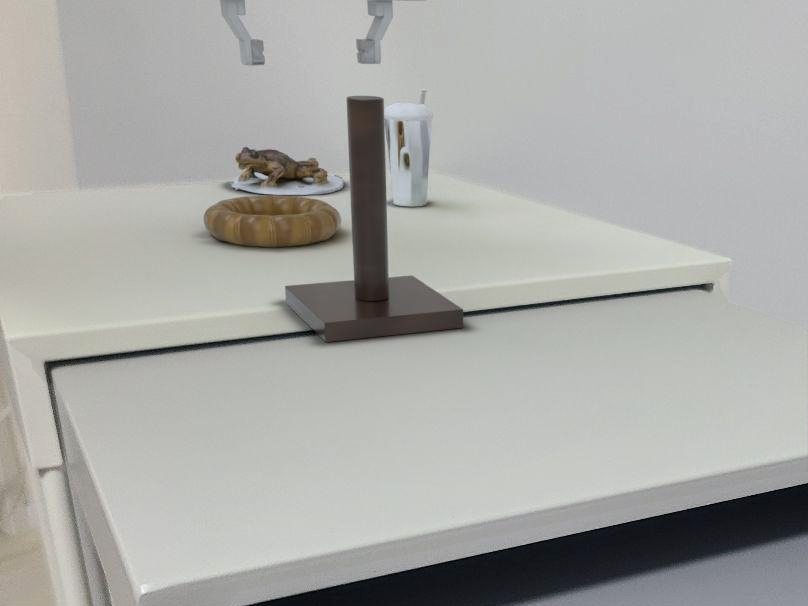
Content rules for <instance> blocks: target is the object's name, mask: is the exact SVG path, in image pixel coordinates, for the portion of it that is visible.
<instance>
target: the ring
mask: <svg viewBox="0 0 808 606" xmlns="http://www.w3.org/2000/svg"><path fill="white" fill-rule="evenodd" d="M203 224H204V226H205V228H206V230H207V231H208V232H209V233H210V234H211V235H212V236H213V237H214V238H216V239H217V240H219V241H221V242H226V243H231V244H235V245H240V246H244V247H265V248H280V247H281V248H282V247H297V246H306V245H310V244H314V243H319V242H323V241H327V240H328V239H330V238H331V237H332V236H334V235H335V234H336V233H337V232H338V230H339V229H340V228H341V224H342V216H341V214H340V212H339V211H338V209H336V207H334V206H332V205H331V204H329V203H327V202H326V201H324V200H321V199H317V198H311V197H305V196H300V195H274V194H264V195H246V196H240V197H239V196H238V197H233V198H227V199H223V200H220V201H218V202H216V203H214V204H213V205H211V206H209V207H208V208H207V209H206V210H205V211H204V215H203Z"/></svg>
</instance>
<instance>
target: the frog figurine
mask: <svg viewBox="0 0 808 606" xmlns="http://www.w3.org/2000/svg"><path fill="white" fill-rule="evenodd" d="M235 161H236V163H237V164H238V165H237V168H238V169H239V170H241V171H243V172H242V173H240V174H238V175H237V176H234V177H233V178H232V179H231V181H230V182H229V184H230V187H231V188H232V189H235V191H239V190H240V191H246V192H247V193H255V194H259V195H260V194H261V195H280V196H301V195H302V196H306V195H308V196H309V195H324V194H330V193H335V192H336V191H340V190H342V189H343V188H344V185H345V184H344V183H345V182H344V180H343V177H342V176H340V175H337V174H334V175H333V176H331V175H328V172H329V171H328V170H326V169H324V168H321V167H319V164H320V163H319V161H318V160H317V158H315V157H308V159H307V160H298V161H297V160H295V159H293V158H292V157H290V156H289V155H288V154H286V153H284V152H281V151H279V150H277V149H271V148H269V149H268V148H267V149H259V150H257V149H254V148H251V149H250V148H249V147H247V146H245V147H242V149H241V151H240V152H238V153H236V156H235Z"/></svg>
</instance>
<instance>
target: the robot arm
mask: <svg viewBox="0 0 808 606" xmlns="http://www.w3.org/2000/svg"><path fill="white" fill-rule="evenodd" d="M395 1H397V2H398V1H399V2H426V1H427V0H366V3H367V4H366V5H367V15H368V16H372V17H374V18H373V20H372V22H371V24H370V27H369V29H368V31H367V33H366V36H365V38H357V39H355V46H356V47H355V48H356V50H357V53H356V59H357V63H358V64H361V65H380V64H381V62H382V50H381V47H382V46H381V41H382V40H383V39H384V37H385V35H386V32H387V30H388V28H389V26H390V24H391V21H392V20H393V18H394V10H393V9H394V8H393V5H394V4H393V2H395ZM219 3H220V12H221V13H220V14H221V16H222V17H223V19H224V20H225V22H226V24H227V26H228V28H229V29H230V30H231V32H232V33H233V35H234V36H235V38H236V39H237V40H238V46H239V55H240V61H241V62H240V63H241V65H243V66H265V64H266V63H265V61H266V60H265V59H266V58H265V55H264V54H263V52H265V51H264V50H265V48H264V47H265V46H264V40H262V39H258V38H252V36H251V35H250V33H249V31H248V30H247V28H246V27H245V25H244V23H243V21H242V20H241V18H240V17H239V16H245V15H247V12H246V11H247V10H246V0H219Z"/></svg>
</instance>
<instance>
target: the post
mask: <svg viewBox="0 0 808 606" xmlns="http://www.w3.org/2000/svg"><path fill="white" fill-rule="evenodd" d="M384 110H385V99H384V97H382V96H376V95H375V96H374V95H349V96H346V120H347V144H348V146H347V147H348V168H349V169H348V171H349V190H350V191H349V193H350V217H351V239H352V241H351V242H352V263H353V279H352V280H351V279H350V280H340V281H327V282H315V283H303V284H290V285H285V286H284V291H285V292H284V293H285V304H286V305H287V306H288V307H289V308H290V309H291V310H293V311H294V312H295V313H296V314H297V315H298V316H299V318H301V320H302V321H303V322H305V324H307V325H308V326H309V327H310V328H311V329H312V330H313V332H315V333H316V334H317V335H318V336H319V337H320V338H321V339H322V340H323V341H324V342H325V343H331V342H341V341H349V340H350V341H351V340H361V339H368V338H376V337H388V336H389V337H390V336H399V335H407V334H416V333H417V334H418V333H426V332H436V331H443V330H444V331H445V330H454V329H463V328H464V309H463V308H462V307H460V306H459V305H457V304H456V303H454V302H453V301H452V300H450V299H448V298H447V297H445V296H444V295H443V294H441V293H440V292H438V291H436V290H435V289H433V288H432V287H430V286H429V285H428V284H426V283H424V282H423V281H421V280H420V279H418V278H417V277H415V276H414V275H402V276H389V244H388V243H389V240H388V239H389V238H388V237H389V236H388V205H387V204H388V203H387V202H388V201H387V167H386V166H387V164H386V131H385V123H384Z"/></svg>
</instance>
